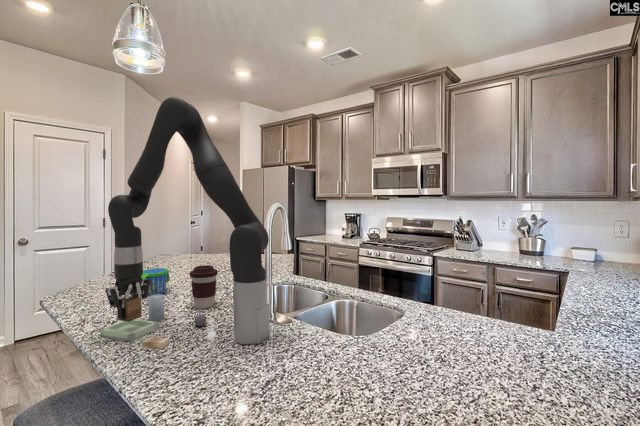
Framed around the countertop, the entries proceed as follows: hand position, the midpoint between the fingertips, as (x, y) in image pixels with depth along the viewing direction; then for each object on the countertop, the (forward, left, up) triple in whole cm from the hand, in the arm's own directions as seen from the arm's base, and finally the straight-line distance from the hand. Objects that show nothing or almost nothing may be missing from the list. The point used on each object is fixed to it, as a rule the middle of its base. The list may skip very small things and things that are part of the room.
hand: (129, 316), depth 101 cm
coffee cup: (-5, -28, -5) cm, 29 cm away
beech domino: (-15, +5, -5) cm, 17 cm away
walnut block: (0, 0, -1) cm, 1 cm away
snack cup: (+26, -35, -5) cm, 44 cm away
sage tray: (0, 0, -5) cm, 5 cm away
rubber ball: (-17, -11, -3) cm, 21 cm away
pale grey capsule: (+1, -11, -5) cm, 12 cm away
